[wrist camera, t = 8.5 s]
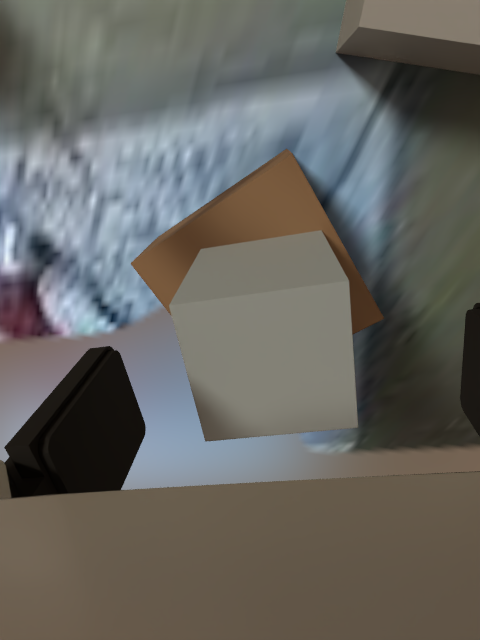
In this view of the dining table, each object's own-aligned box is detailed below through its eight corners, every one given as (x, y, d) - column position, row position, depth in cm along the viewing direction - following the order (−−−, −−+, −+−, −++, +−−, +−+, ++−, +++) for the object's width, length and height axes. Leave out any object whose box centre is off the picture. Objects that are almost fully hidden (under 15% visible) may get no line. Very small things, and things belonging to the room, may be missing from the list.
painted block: (321, 230, 16) (348, 280, 11) (330, 338, 18) (358, 427, 13) (200, 249, 17) (168, 305, 11) (223, 351, 19) (205, 441, 13)
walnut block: (286, 148, 19) (292, 153, 15) (360, 280, 22) (384, 318, 18) (158, 236, 22) (130, 263, 17) (239, 346, 24) (233, 395, 20)
